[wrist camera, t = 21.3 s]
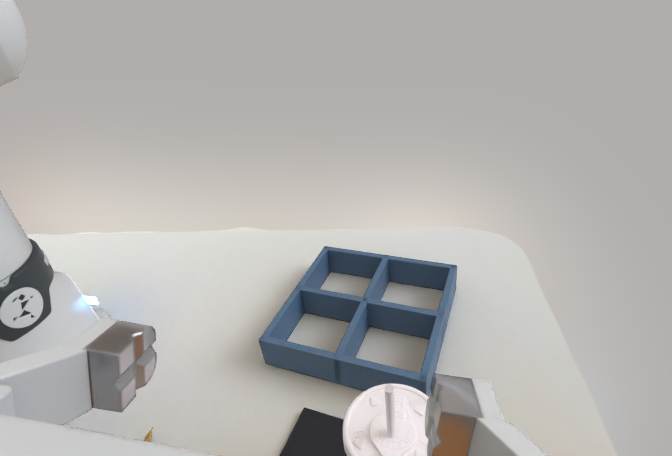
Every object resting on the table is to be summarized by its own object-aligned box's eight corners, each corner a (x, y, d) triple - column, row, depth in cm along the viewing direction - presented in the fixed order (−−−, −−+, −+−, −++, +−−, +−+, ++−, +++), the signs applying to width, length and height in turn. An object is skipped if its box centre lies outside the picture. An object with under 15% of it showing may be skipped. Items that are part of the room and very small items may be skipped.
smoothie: (344, 542, 29) (318, 420, 22) (364, 453, 35) (349, 330, 27) (439, 568, 28) (446, 446, 20) (446, 470, 33) (453, 343, 25)
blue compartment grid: (265, 363, 44) (258, 340, 42) (327, 267, 57) (324, 246, 55) (426, 407, 38) (426, 382, 36) (455, 288, 51) (457, 265, 49)
